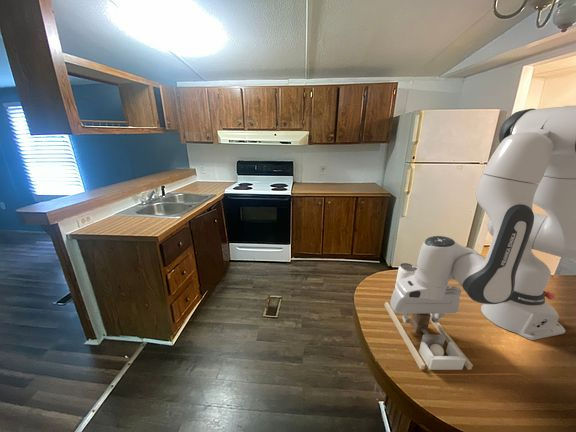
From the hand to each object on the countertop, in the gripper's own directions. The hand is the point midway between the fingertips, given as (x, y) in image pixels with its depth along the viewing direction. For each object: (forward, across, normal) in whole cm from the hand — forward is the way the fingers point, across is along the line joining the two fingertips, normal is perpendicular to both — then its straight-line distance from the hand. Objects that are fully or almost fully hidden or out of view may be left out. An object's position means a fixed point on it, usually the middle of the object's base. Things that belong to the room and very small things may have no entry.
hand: (419, 321), depth 75 cm
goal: (+3, 0, +12) cm, 12 cm away
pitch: (+4, 0, +2) cm, 5 cm away
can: (+4, -5, -21) cm, 22 cm away
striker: (+3, 0, +3) cm, 4 cm away
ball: (+1, 0, +10) cm, 10 cm away
